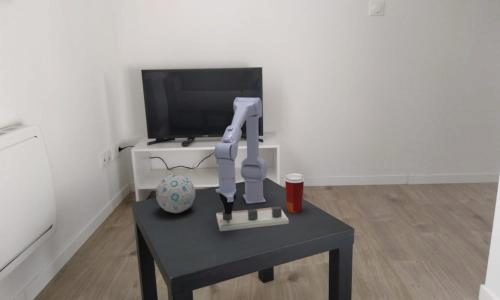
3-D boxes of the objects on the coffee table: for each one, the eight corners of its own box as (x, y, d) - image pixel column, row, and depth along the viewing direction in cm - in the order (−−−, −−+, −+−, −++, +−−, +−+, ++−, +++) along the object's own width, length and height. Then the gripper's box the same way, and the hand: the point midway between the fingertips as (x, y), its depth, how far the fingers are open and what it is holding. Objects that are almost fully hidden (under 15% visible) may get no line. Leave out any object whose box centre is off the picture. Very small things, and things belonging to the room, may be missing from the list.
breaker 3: (271, 214, 139) (271, 207, 138) (280, 214, 140) (280, 206, 139) (273, 217, 137) (273, 209, 136) (281, 216, 138) (281, 208, 137)
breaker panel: (216, 216, 143) (216, 213, 142) (279, 210, 147) (279, 206, 147) (219, 231, 132) (219, 227, 131) (288, 223, 136) (288, 219, 136)
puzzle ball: (149, 215, 146) (145, 178, 142) (174, 201, 159) (171, 167, 155) (180, 222, 139) (177, 184, 135) (204, 207, 152) (201, 172, 148)
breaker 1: (222, 217, 138) (222, 209, 137) (231, 216, 139) (230, 208, 138) (223, 219, 136) (222, 211, 135) (232, 218, 137) (231, 211, 136)
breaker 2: (247, 217, 137) (247, 209, 137) (256, 216, 138) (256, 208, 137) (248, 219, 136) (248, 212, 135) (257, 218, 136) (257, 211, 135)
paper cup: (305, 206, 150) (305, 173, 146) (302, 214, 143) (303, 180, 139) (286, 205, 152) (286, 172, 148) (282, 213, 145) (282, 178, 141)
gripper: (213, 171, 135) (215, 206, 138) (217, 184, 121) (219, 223, 124) (232, 169, 136) (234, 204, 139) (239, 182, 122) (240, 221, 126)
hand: (228, 213), depth 132 cm, fingers closed
